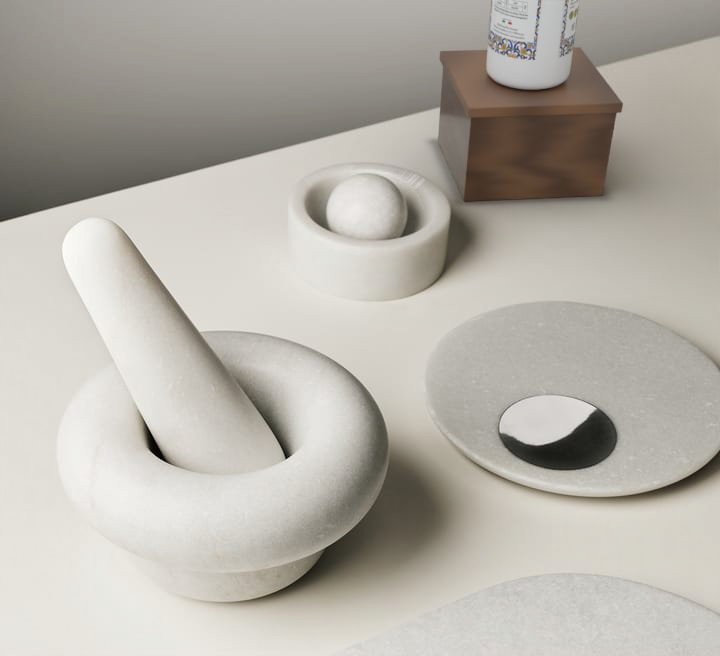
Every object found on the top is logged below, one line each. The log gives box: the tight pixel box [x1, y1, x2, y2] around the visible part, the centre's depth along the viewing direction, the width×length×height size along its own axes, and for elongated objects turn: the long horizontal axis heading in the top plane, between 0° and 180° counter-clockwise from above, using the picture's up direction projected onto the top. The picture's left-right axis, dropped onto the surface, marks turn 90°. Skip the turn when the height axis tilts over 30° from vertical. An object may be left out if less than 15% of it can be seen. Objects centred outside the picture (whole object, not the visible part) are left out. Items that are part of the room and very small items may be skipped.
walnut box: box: [437, 46, 624, 202], centre depth 98 cm, size 13×13×8 cm
